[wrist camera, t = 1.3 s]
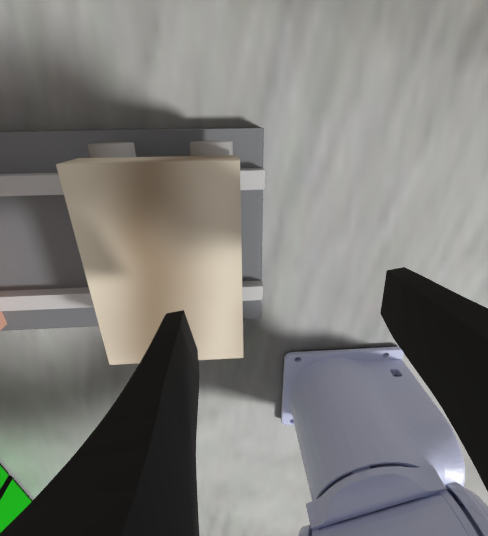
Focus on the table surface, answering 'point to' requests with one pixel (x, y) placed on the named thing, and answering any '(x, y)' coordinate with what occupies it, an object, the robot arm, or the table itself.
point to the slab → (160, 244)
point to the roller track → (61, 230)
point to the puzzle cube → (10, 499)
